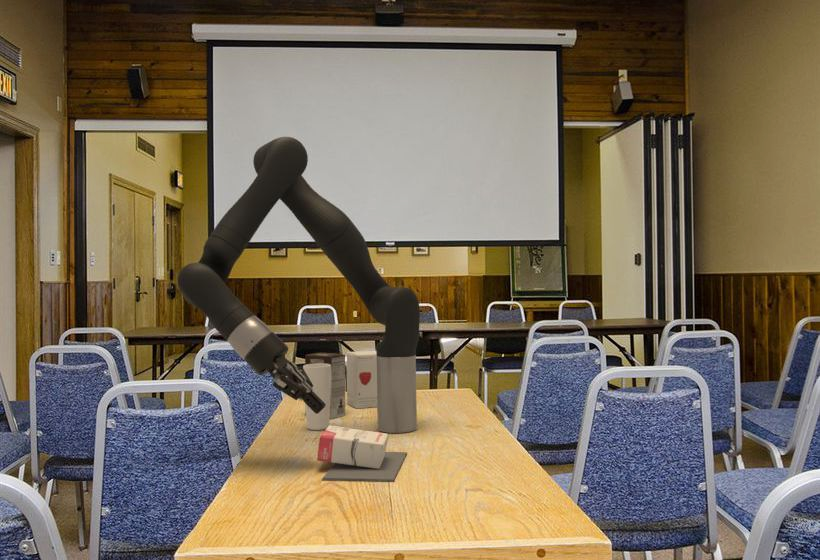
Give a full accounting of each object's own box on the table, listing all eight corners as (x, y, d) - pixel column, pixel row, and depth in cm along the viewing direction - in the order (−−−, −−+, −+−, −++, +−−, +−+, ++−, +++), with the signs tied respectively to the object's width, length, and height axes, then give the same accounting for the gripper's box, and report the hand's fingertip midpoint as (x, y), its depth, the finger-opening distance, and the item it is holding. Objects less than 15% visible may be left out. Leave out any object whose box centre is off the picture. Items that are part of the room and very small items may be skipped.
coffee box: (304, 416, 167) (303, 354, 167) (320, 411, 172) (319, 352, 172) (331, 419, 162) (330, 356, 162) (347, 415, 167) (346, 353, 167)
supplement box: (356, 409, 175) (355, 354, 175) (346, 403, 183) (345, 351, 183) (387, 406, 179) (386, 352, 179) (376, 401, 187) (375, 350, 187)
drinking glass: (298, 430, 150) (297, 366, 150) (313, 424, 156) (312, 363, 156) (323, 432, 147) (322, 367, 148) (337, 426, 154) (336, 363, 154)
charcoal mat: (345, 453, 129) (345, 451, 129) (406, 454, 127) (406, 452, 127) (322, 480, 111) (322, 477, 111) (393, 481, 109) (393, 479, 109)
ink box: (315, 461, 116) (380, 471, 115) (319, 434, 116) (383, 444, 115) (325, 449, 125) (385, 457, 124) (329, 424, 124) (388, 432, 124)
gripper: (258, 333, 115) (326, 402, 113) (282, 328, 128) (343, 390, 126) (230, 363, 115) (297, 432, 114) (257, 355, 129) (317, 416, 127)
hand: (321, 409), depth 120 cm, fingers closed
